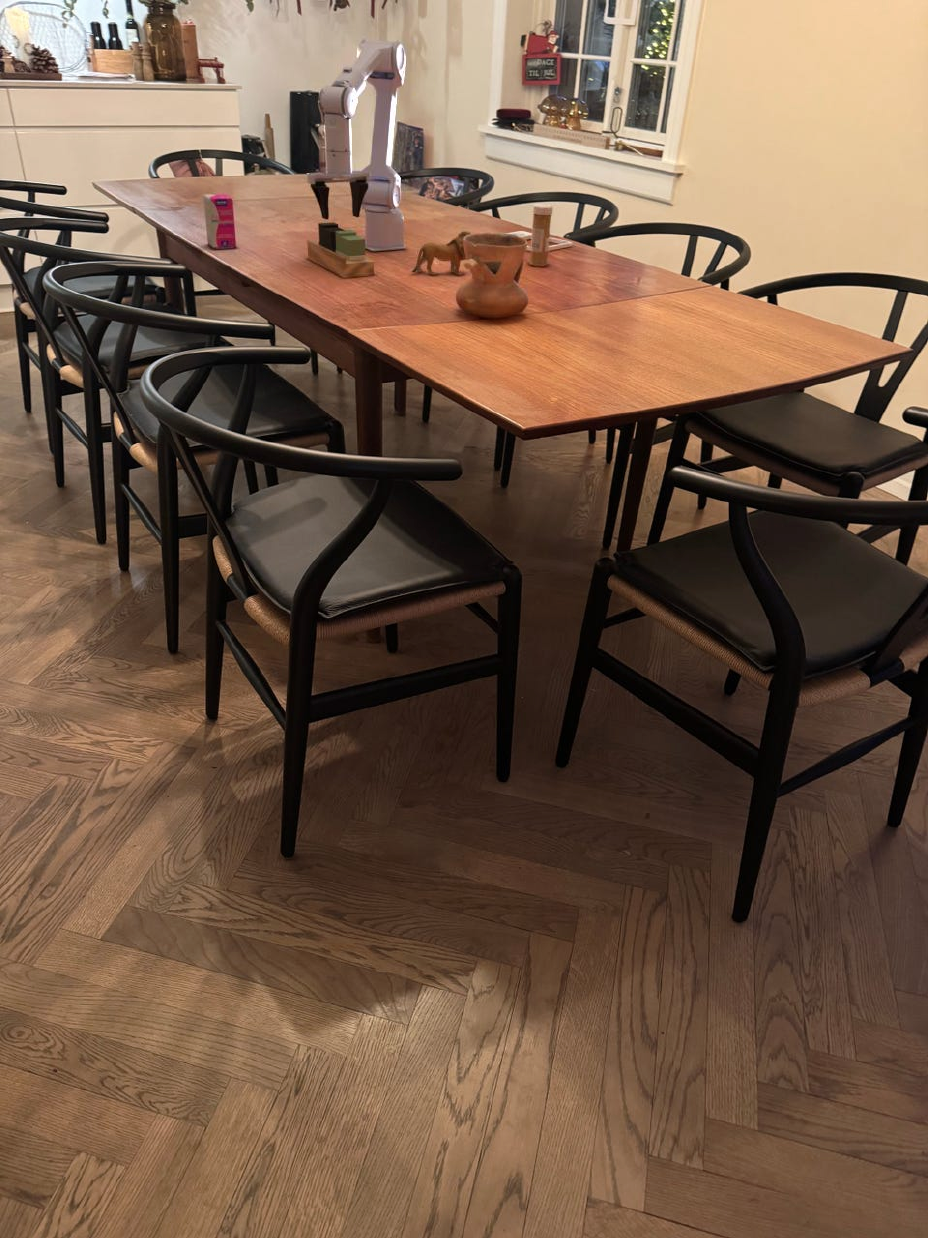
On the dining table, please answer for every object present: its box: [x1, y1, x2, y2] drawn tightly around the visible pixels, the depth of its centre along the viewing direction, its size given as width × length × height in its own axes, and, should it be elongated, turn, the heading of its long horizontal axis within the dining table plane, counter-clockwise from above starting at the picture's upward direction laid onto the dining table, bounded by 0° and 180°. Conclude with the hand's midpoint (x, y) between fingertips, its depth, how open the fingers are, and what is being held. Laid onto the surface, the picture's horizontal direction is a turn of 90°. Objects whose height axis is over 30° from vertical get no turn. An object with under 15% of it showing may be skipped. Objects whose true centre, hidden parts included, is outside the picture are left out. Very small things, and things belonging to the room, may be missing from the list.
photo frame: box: [505, 230, 574, 252], centre depth 235 cm, size 15×1×18 cm
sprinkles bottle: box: [529, 203, 554, 267], centre depth 212 cm, size 5×5×14 cm
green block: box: [335, 229, 367, 261], centre depth 199 cm, size 4×8×5 cm, turn 32°
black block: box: [317, 221, 346, 252], centre depth 206 cm, size 4×8×5 cm, turn 32°
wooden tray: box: [306, 239, 375, 279], centre depth 204 cm, size 8×20×4 cm, turn 32°
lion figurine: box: [411, 230, 472, 276], centre depth 201 cm, size 15×5×9 cm, turn 110°
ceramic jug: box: [455, 232, 529, 319], centre depth 174 cm, size 18×14×14 cm
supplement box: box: [202, 193, 237, 250], centre depth 214 cm, size 6×6×12 cm
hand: (340, 217), depth 201 cm, fingers open, 7 cm apart
